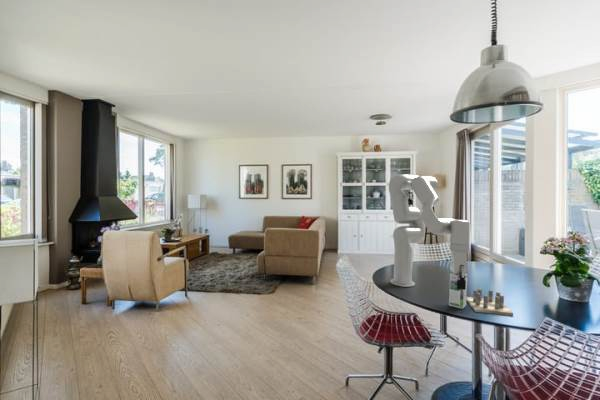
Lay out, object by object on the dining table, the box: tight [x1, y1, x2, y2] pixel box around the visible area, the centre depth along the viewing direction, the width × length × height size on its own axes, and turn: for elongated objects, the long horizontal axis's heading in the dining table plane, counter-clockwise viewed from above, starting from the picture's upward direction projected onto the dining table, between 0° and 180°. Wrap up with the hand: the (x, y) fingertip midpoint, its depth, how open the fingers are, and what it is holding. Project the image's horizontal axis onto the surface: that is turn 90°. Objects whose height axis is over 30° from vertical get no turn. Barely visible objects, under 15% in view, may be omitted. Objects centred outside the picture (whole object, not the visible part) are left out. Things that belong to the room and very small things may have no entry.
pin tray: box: [466, 288, 514, 317], centre depth 134 cm, size 16×14×6 cm
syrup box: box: [448, 271, 468, 310], centre depth 135 cm, size 6×6×14 cm
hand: (458, 286), depth 135 cm, fingers open, 9 cm apart
